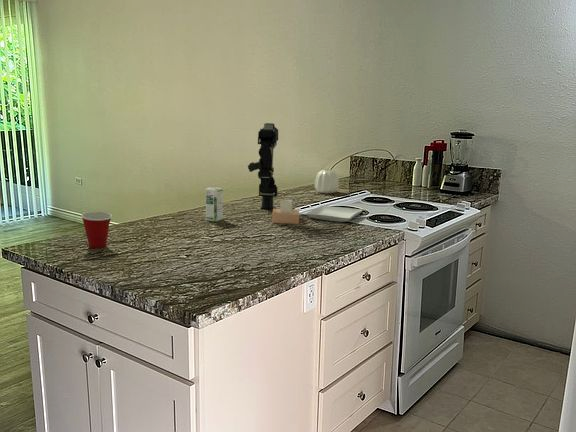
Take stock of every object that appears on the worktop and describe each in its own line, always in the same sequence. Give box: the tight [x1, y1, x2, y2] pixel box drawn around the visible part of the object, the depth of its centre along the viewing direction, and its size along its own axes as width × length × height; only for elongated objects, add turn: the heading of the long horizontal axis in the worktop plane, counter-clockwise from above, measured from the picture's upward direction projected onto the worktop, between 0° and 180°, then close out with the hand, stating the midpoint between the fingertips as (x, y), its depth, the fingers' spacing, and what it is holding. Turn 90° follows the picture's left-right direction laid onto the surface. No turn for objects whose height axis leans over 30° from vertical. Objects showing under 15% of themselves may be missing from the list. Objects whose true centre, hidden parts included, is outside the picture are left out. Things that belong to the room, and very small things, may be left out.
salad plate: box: [306, 205, 363, 223], centre depth 269 cm, size 21×21×3 cm
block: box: [279, 199, 293, 213], centre depth 259 cm, size 5×5×5 cm
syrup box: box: [205, 186, 224, 222], centre depth 256 cm, size 6×6×14 cm
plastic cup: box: [80, 211, 113, 249], centre depth 209 cm, size 11×11×12 cm
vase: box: [314, 168, 340, 195], centre depth 333 cm, size 14×14×13 cm
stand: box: [271, 208, 300, 225], centre depth 260 cm, size 12×12×4 cm
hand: (265, 189), depth 268 cm, fingers open, 9 cm apart
